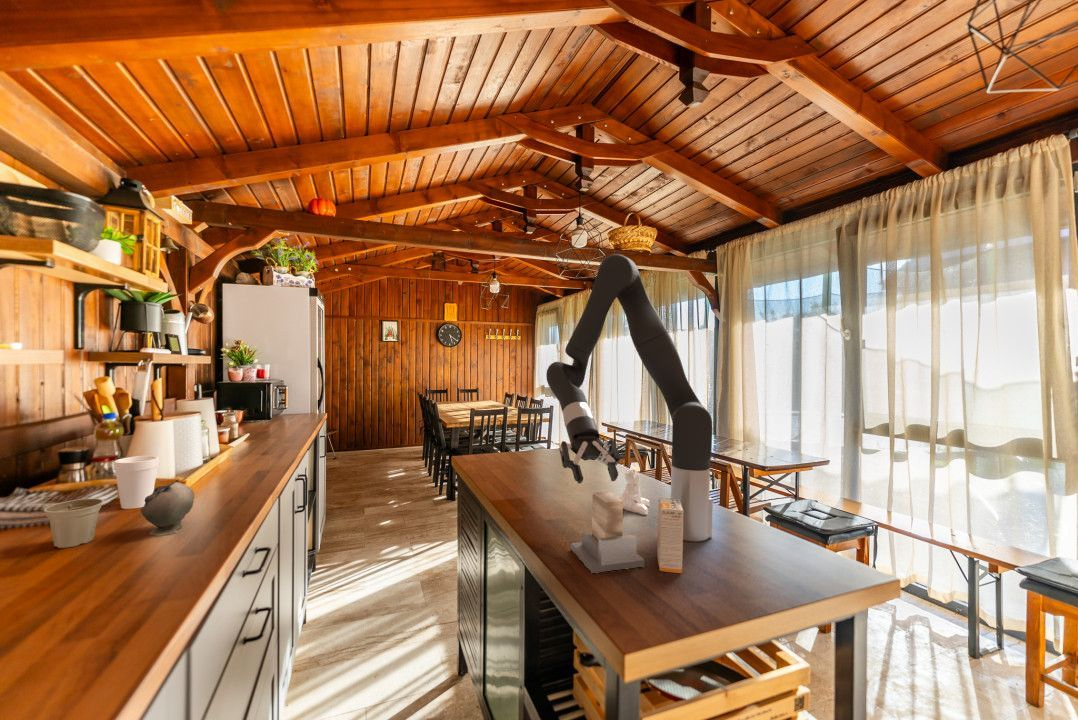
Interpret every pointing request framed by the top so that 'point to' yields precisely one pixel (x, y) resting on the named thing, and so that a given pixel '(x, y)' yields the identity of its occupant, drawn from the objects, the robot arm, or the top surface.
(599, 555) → the cradle
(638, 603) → the top surface
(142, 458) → the foam cup
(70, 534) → the flower pot
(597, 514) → the brown paper bag
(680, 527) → the supplement box
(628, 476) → the sitting furry creature
